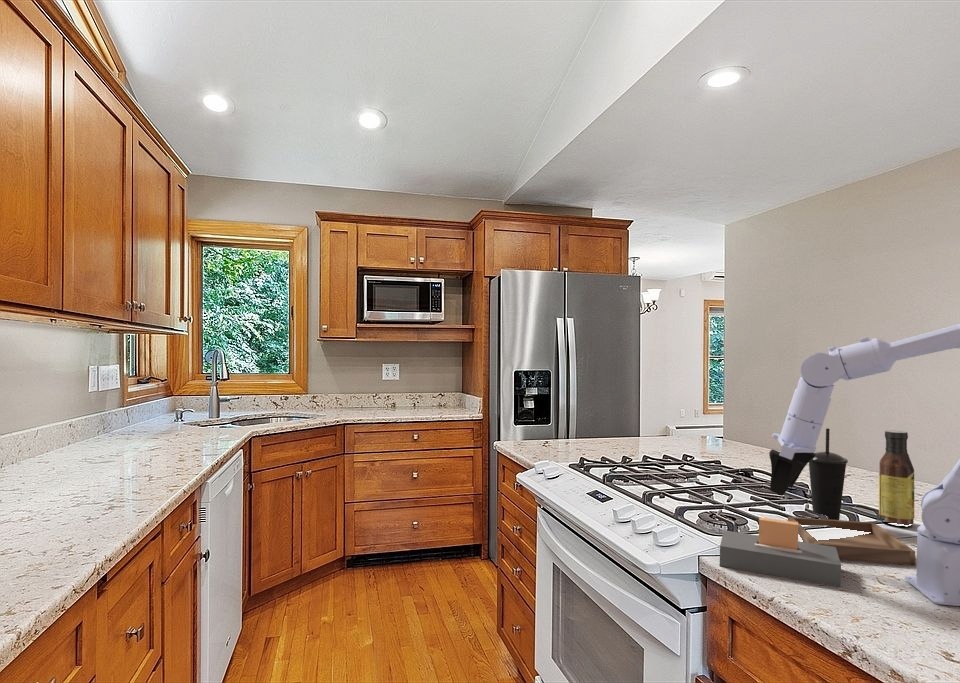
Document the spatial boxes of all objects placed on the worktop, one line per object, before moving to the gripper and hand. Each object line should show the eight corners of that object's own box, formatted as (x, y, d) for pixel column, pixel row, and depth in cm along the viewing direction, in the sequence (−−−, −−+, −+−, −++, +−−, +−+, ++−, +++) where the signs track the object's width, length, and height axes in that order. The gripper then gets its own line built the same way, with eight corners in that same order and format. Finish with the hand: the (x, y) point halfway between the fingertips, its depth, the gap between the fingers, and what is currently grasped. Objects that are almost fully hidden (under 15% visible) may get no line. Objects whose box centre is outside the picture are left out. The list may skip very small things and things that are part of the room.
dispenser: (835, 567, 102) (835, 545, 102) (840, 586, 94) (841, 563, 94) (723, 548, 110) (723, 528, 110) (719, 565, 102) (720, 544, 102)
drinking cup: (798, 517, 130) (799, 427, 129) (820, 513, 133) (822, 425, 132) (831, 527, 123) (833, 432, 122) (854, 523, 126) (856, 430, 125)
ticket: (796, 568, 101) (797, 522, 101) (797, 571, 100) (798, 524, 100) (758, 562, 104) (759, 517, 104) (758, 565, 103) (759, 519, 102)
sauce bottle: (920, 529, 122) (922, 434, 122) (886, 527, 123) (888, 433, 123) (904, 519, 128) (906, 429, 128) (872, 517, 130) (874, 428, 129)
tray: (914, 565, 103) (915, 551, 103) (815, 557, 106) (815, 543, 106) (873, 534, 119) (873, 522, 119) (787, 528, 122) (787, 516, 122)
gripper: (789, 407, 112) (767, 472, 114) (771, 414, 100) (748, 487, 103) (830, 420, 108) (807, 488, 110) (816, 429, 96) (791, 504, 99)
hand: (781, 488), depth 106 cm, fingers open, 7 cm apart
